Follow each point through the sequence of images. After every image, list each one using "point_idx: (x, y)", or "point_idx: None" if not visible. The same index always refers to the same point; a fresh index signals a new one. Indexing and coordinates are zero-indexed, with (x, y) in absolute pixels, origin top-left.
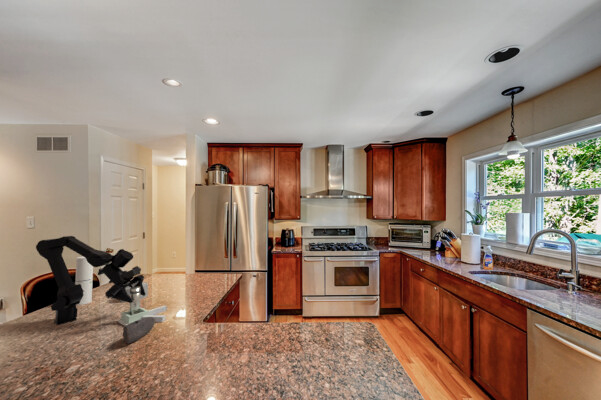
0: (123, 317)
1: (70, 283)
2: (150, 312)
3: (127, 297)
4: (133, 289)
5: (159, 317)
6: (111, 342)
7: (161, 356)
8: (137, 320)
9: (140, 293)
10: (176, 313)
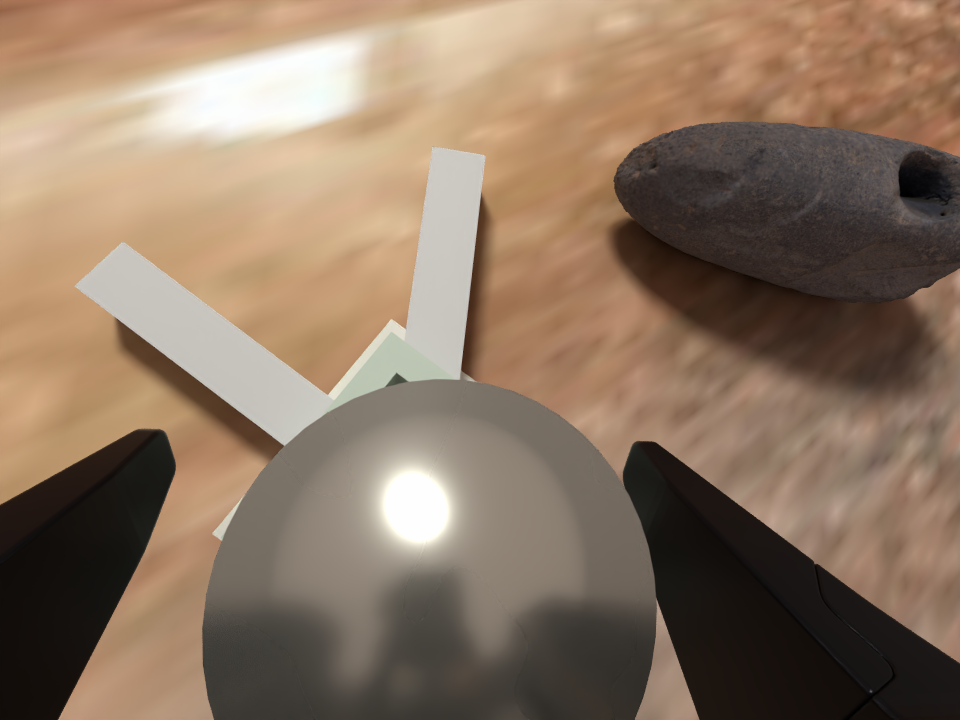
0: None
1: None
2: (297, 373)
3: (768, 546)
4: (645, 539)
5: (481, 188)
6: (843, 416)
7: (926, 11)
8: (890, 176)
9: (121, 574)
10: (266, 135)
